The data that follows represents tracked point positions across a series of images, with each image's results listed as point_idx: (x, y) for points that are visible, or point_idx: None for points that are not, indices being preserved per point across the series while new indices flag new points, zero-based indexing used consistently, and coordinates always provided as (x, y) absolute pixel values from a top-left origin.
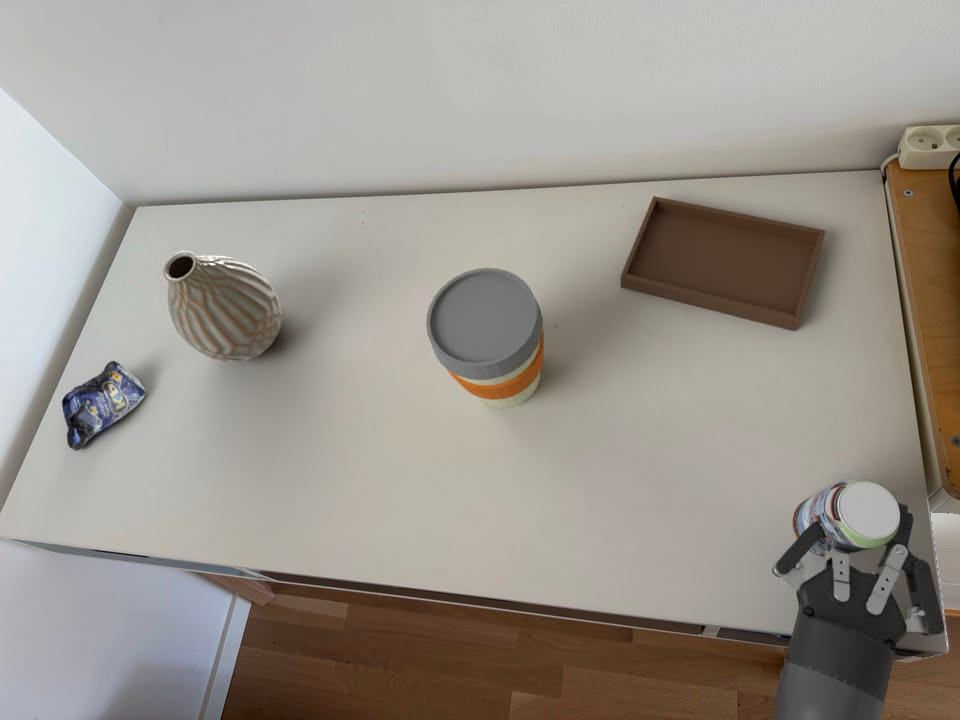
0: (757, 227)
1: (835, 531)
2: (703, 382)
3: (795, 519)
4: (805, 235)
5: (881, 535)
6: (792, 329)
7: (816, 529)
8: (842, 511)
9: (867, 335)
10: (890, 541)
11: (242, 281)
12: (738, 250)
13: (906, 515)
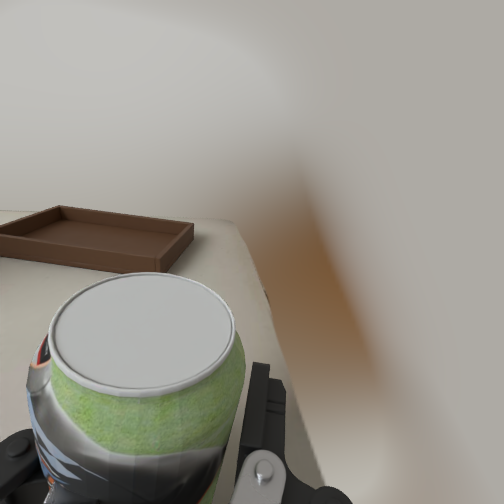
0: (143, 225)
1: (35, 414)
2: (27, 319)
3: None
4: (179, 228)
5: (178, 380)
6: None
7: (8, 451)
8: (65, 325)
9: (228, 281)
10: (240, 454)
11: None
12: (123, 237)
13: (270, 384)
